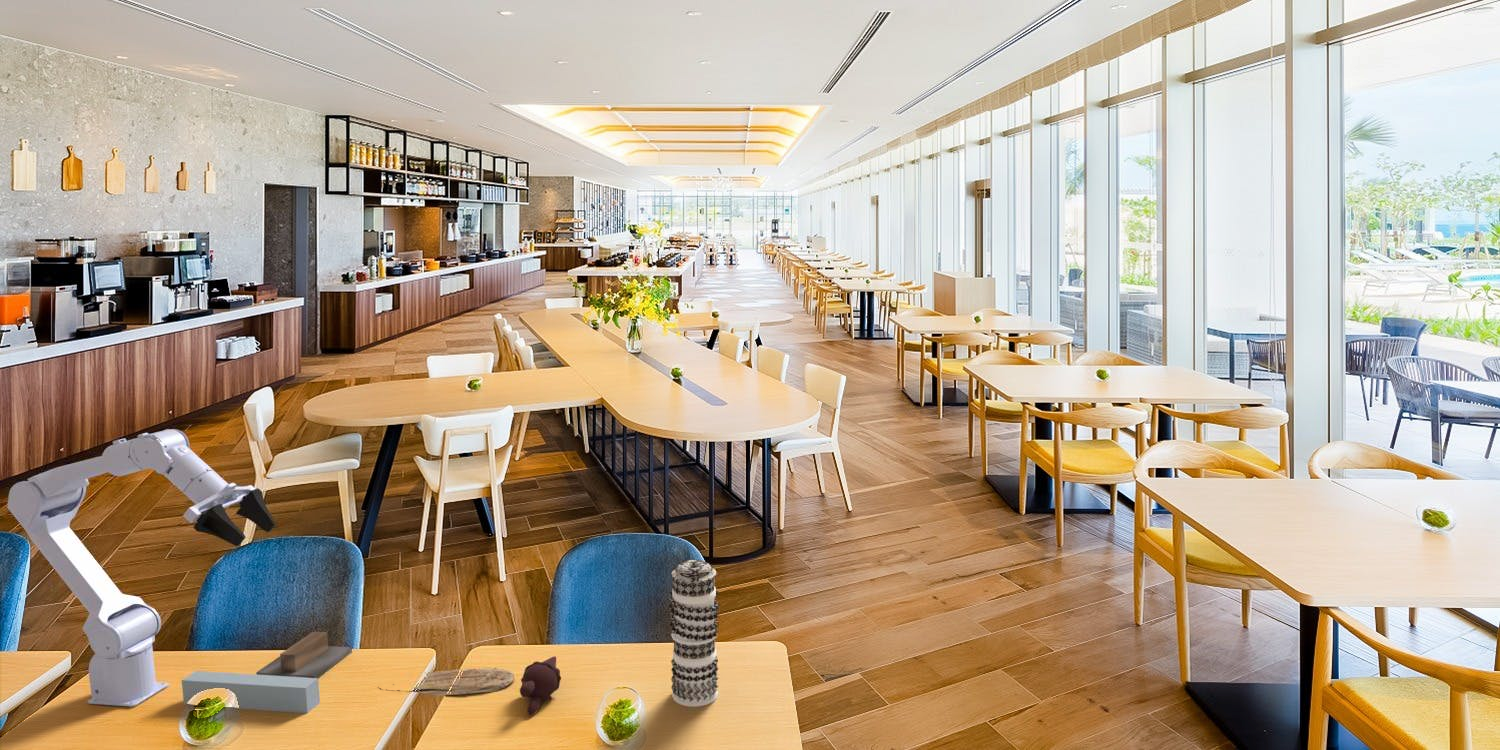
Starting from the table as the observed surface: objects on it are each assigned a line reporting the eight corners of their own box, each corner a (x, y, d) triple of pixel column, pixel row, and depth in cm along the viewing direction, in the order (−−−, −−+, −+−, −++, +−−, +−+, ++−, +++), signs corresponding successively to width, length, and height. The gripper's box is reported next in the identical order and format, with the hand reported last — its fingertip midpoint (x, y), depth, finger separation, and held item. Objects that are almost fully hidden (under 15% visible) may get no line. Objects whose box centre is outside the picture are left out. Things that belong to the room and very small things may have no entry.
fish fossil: (366, 701, 152) (366, 695, 152) (385, 678, 162) (384, 672, 162) (511, 691, 155) (511, 685, 155) (520, 668, 165) (520, 662, 165)
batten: (184, 706, 150) (181, 680, 150) (199, 696, 154) (196, 670, 153) (307, 714, 148) (305, 688, 147) (320, 704, 151) (318, 678, 150)
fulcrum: (256, 677, 160) (254, 655, 160) (297, 648, 172) (296, 628, 171) (314, 681, 159) (312, 658, 158) (352, 652, 171) (350, 631, 170)
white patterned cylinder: (669, 683, 158) (667, 556, 154) (718, 681, 159) (717, 554, 155) (669, 709, 149) (667, 574, 145) (721, 706, 150) (720, 573, 146)
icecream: (531, 644, 160) (500, 690, 145) (567, 637, 159) (539, 682, 144) (542, 676, 161) (512, 724, 147) (578, 669, 160) (551, 717, 146)
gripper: (178, 477, 138) (239, 532, 138) (242, 456, 152) (297, 506, 152) (156, 506, 139) (216, 561, 139) (221, 484, 154) (275, 533, 154)
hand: (257, 534), depth 146 cm, fingers open, 7 cm apart
